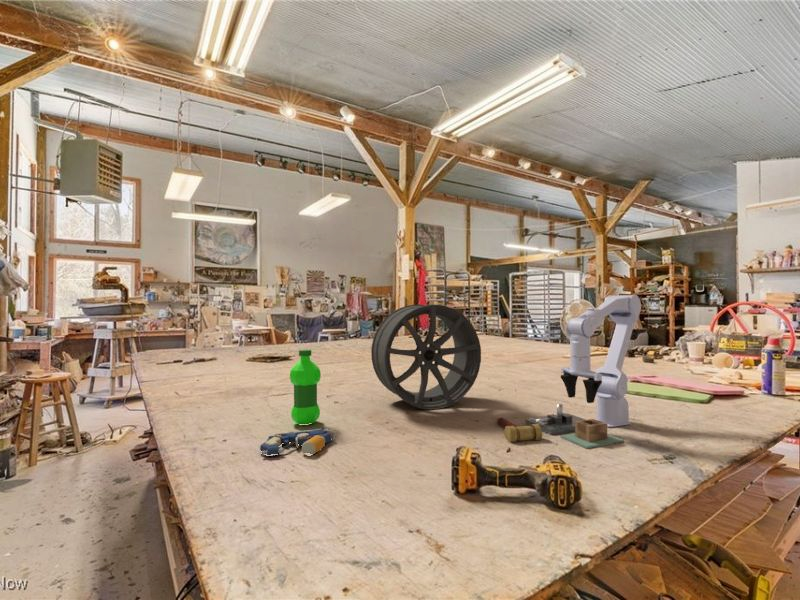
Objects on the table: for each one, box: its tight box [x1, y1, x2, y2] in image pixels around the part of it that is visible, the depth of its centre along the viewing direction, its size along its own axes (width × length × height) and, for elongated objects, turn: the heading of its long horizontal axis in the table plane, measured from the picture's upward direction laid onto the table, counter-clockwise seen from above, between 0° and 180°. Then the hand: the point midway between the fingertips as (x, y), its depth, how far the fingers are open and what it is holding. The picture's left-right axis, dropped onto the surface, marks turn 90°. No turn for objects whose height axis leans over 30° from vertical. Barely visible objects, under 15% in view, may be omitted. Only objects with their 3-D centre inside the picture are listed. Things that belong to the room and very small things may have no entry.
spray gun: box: [259, 427, 336, 456], centre depth 115 cm, size 21×4×15 cm
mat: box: [560, 432, 625, 450], centre depth 119 cm, size 14×10×1 cm
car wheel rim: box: [370, 304, 482, 411], centre depth 163 cm, size 40×20×40 cm, turn 109°
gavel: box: [495, 417, 543, 443], centre depth 128 cm, size 21×5×10 cm
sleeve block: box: [574, 418, 608, 442], centre depth 119 cm, size 7×5×4 cm
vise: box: [524, 403, 587, 436], centre depth 133 cm, size 18×12×7 cm, turn 111°
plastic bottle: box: [289, 348, 322, 425], centre depth 138 cm, size 10×10×25 cm
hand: (580, 399), depth 127 cm, fingers open, 7 cm apart
